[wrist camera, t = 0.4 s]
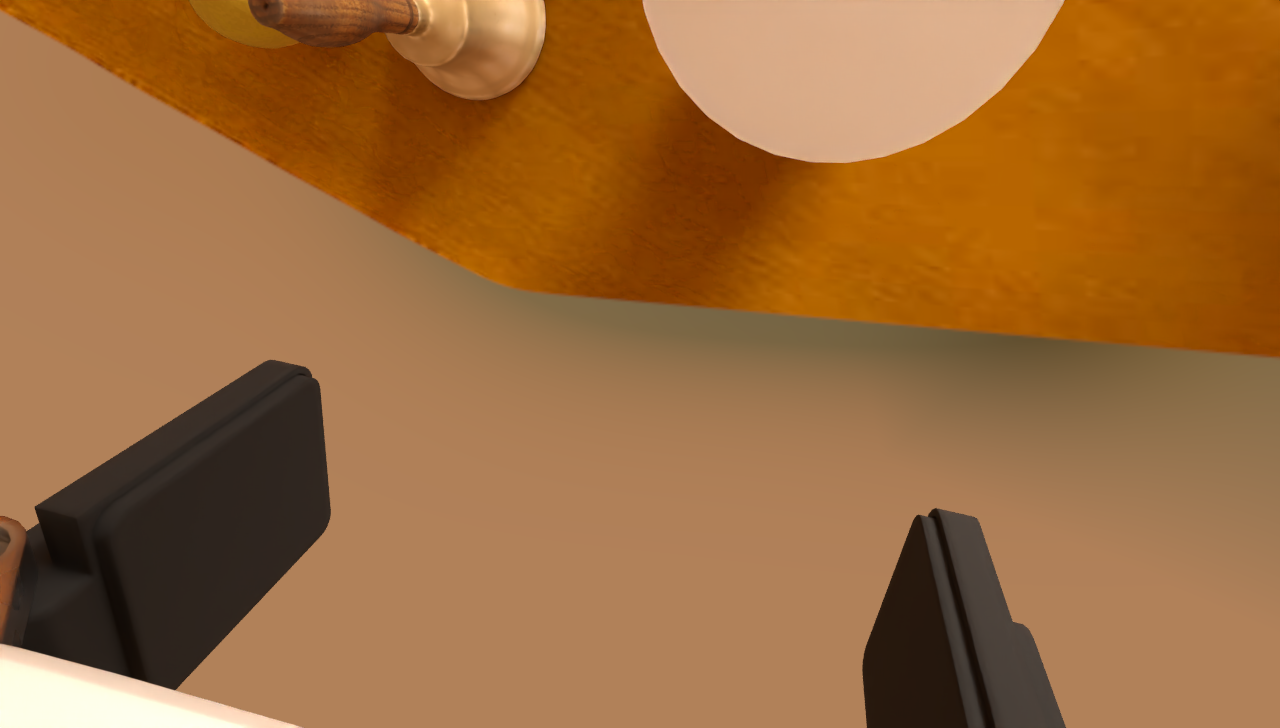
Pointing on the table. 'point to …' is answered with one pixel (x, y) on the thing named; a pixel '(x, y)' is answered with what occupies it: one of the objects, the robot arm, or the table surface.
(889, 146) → the cylindrical container
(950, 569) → the robot arm
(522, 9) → the hand bell
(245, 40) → the lemon
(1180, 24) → the table surface
